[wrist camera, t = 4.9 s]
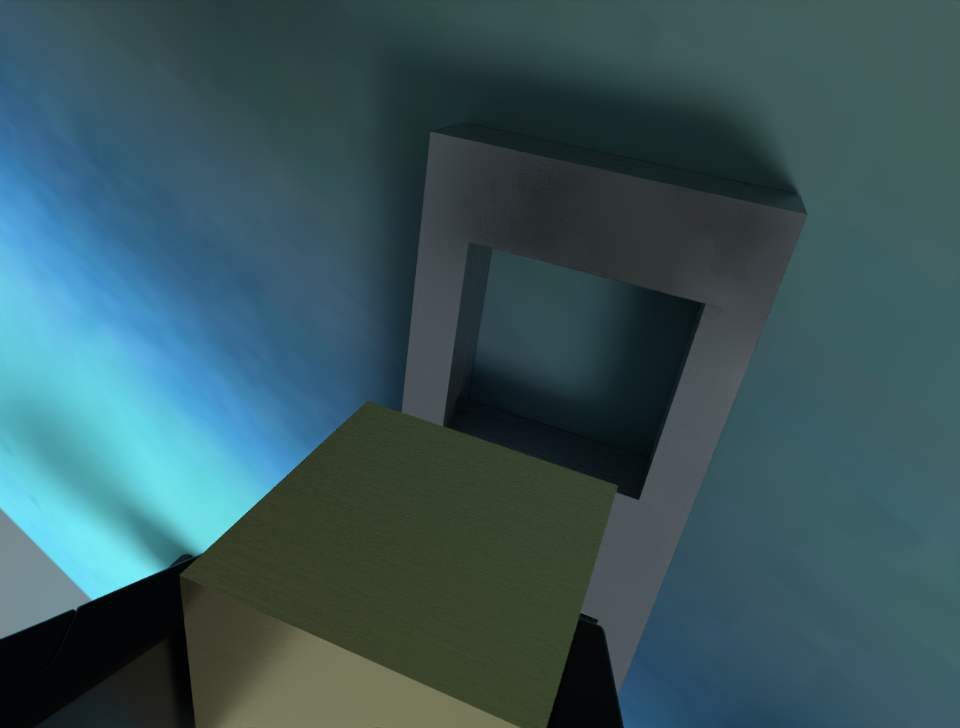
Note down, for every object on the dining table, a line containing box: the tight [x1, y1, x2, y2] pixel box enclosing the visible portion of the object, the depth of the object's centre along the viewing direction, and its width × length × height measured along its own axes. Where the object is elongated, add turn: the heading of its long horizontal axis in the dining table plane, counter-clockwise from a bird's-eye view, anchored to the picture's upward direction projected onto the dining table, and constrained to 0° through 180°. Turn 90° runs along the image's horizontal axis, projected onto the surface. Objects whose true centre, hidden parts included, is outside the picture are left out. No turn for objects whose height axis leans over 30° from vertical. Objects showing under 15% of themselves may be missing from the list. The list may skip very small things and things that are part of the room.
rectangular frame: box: [402, 123, 807, 696], centre depth 19 cm, size 20×8×2 cm, turn 171°
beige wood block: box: [179, 401, 618, 728], centre depth 9 cm, size 4×4×4 cm
